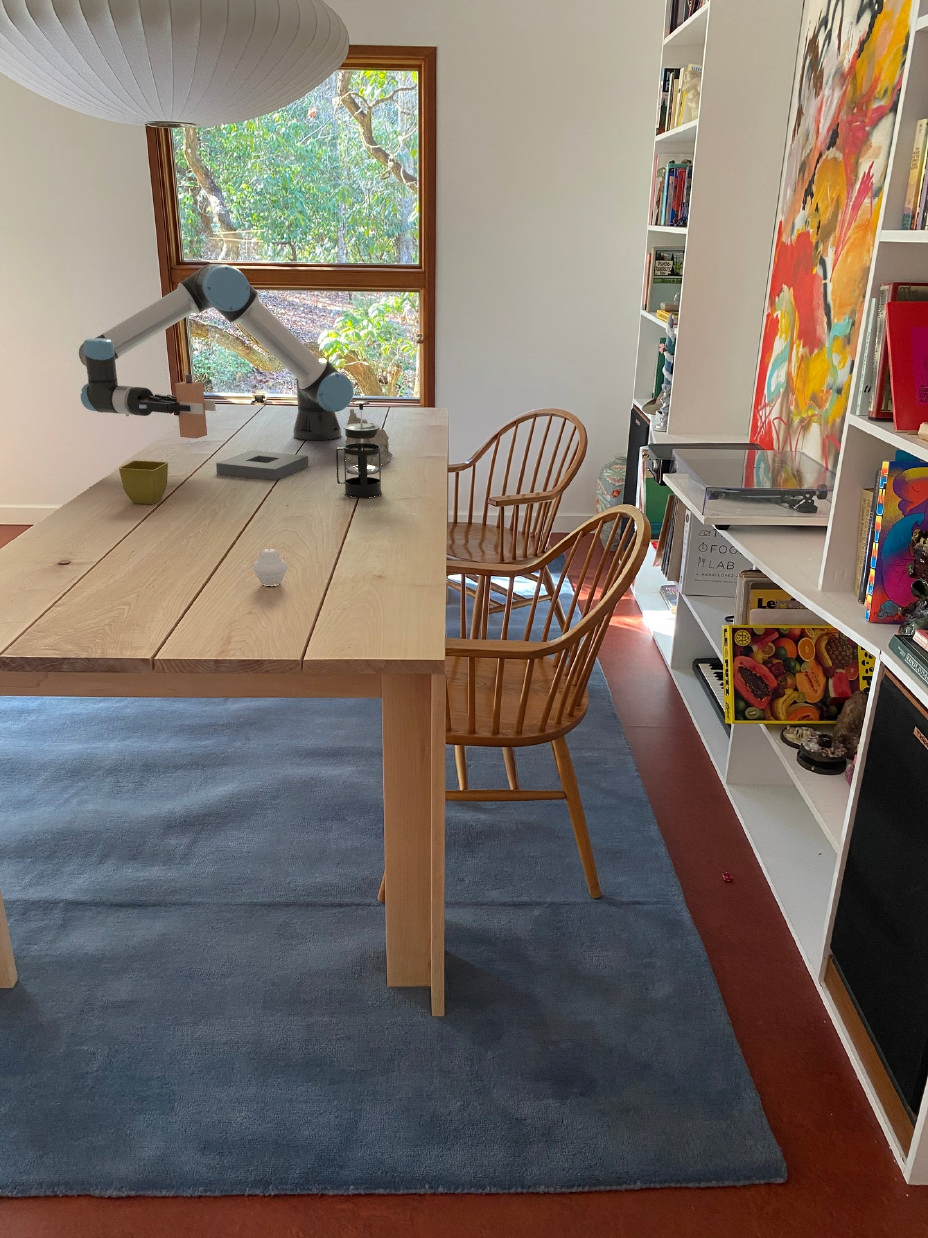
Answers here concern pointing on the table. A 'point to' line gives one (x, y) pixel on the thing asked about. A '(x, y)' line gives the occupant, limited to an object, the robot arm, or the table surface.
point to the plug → (190, 422)
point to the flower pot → (144, 480)
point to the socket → (262, 465)
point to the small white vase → (270, 567)
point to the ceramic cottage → (379, 439)
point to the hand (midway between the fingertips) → (208, 407)
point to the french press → (361, 460)
